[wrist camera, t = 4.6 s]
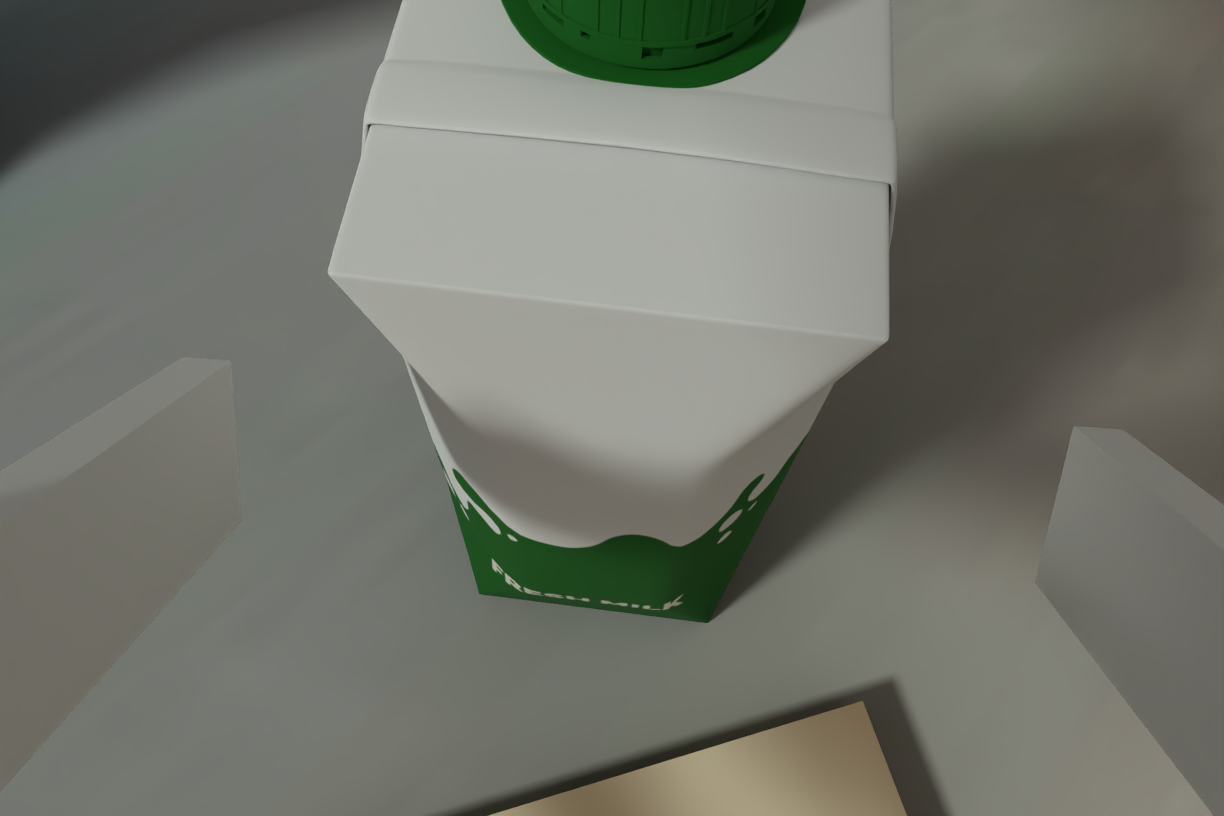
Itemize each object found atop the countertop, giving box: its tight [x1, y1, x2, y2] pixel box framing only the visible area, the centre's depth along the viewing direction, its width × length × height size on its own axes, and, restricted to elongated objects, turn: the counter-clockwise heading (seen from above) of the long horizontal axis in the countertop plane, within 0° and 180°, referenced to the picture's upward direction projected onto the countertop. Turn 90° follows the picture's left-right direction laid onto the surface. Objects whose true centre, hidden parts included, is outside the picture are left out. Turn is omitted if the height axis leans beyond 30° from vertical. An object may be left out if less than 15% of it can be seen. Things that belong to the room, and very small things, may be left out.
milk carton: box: [328, 0, 898, 623], centre depth 21 cm, size 9×9×20 cm
